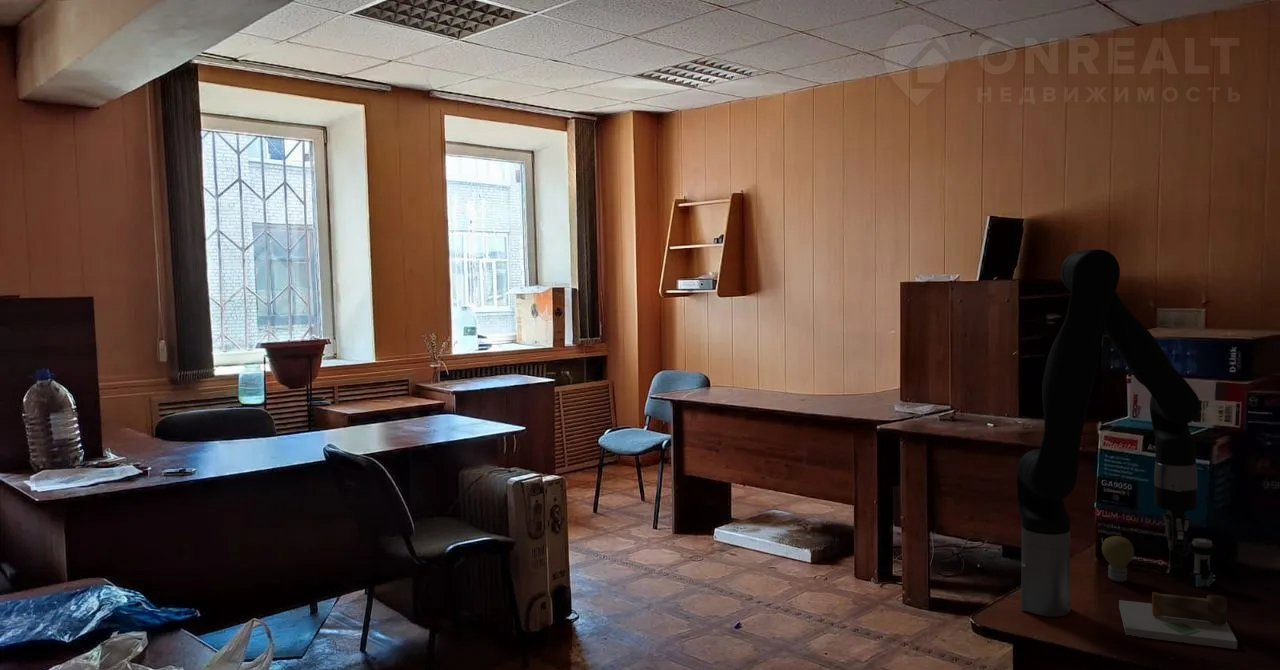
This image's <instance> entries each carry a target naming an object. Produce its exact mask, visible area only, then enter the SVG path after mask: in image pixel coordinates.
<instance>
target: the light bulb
mask: <svg viewBox="0 0 1280 670" xmlns="http://www.w3.org/2000/svg"><path fill="white" fill-rule="evenodd" d="M1101 551H1102V552H1101V553H1102V555H1103V557H1104V559H1105V560H1106V561H1107V562H1108V563H1109V565H1108V571H1107V572H1108V574H1107V575H1108V576H1107V577H1108V578H1109V579H1110V580H1111V581H1113V582H1118V583H1122V582H1126V581H1127V579H1128V576H1127V575H1128V567H1127V566H1128V564H1130V562H1132V560H1133V558H1134V557H1135V556H1134V555H1135V548H1134V545H1133V543H1132V542H1131V541H1130V540H1129V539H1128V538H1125V537H1123V536H1119V535H1111V536H1109V537H1107V538H1105V539H1104V540H1103V542H1102V544H1101Z"/></svg>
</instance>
